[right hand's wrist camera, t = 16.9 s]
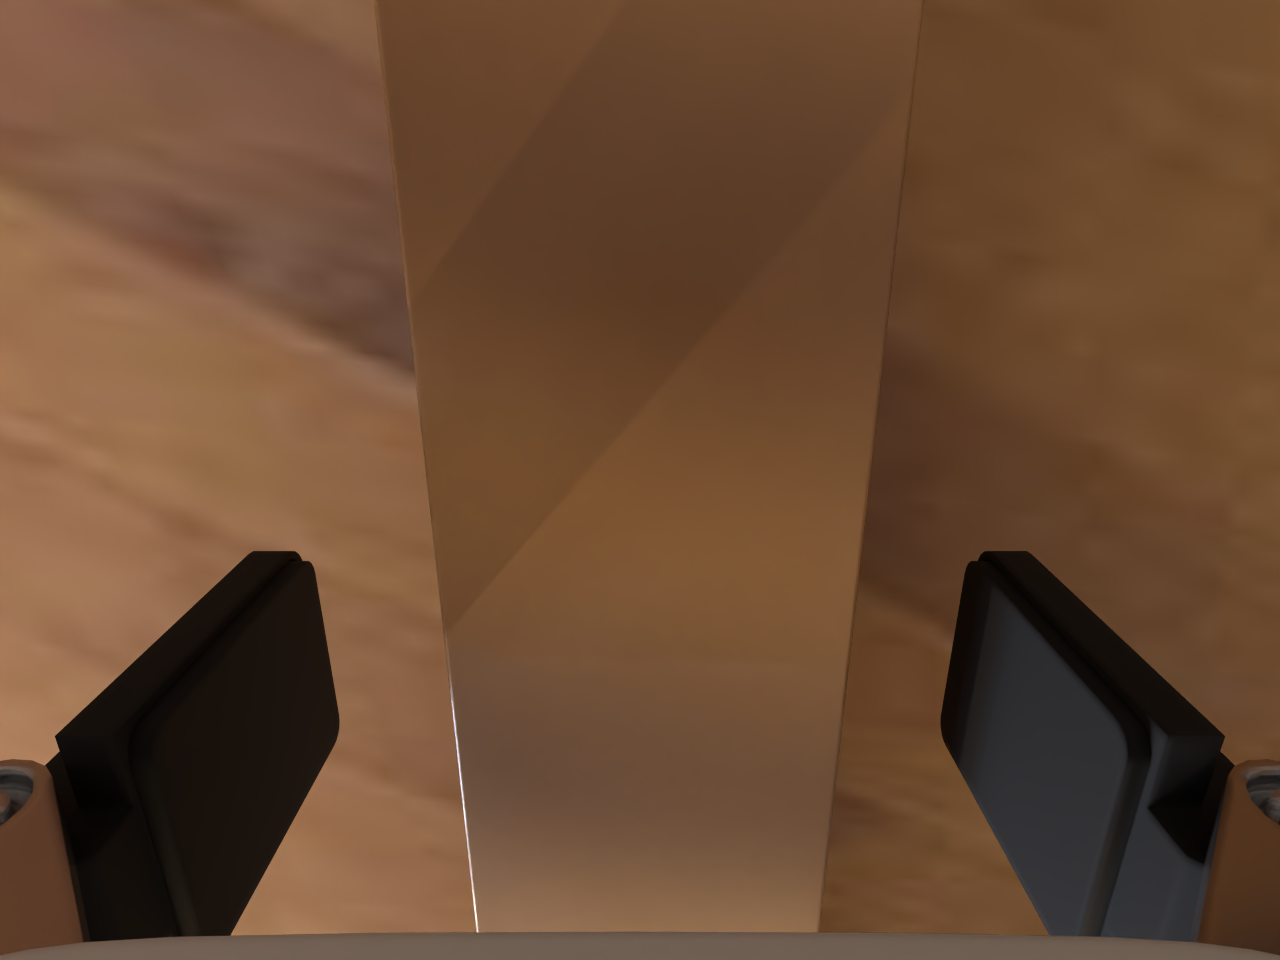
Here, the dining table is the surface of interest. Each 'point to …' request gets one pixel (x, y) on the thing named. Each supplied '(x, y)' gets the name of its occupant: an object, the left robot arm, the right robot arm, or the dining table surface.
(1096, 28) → the dining table surface
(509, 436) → the post
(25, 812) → the right robot arm
